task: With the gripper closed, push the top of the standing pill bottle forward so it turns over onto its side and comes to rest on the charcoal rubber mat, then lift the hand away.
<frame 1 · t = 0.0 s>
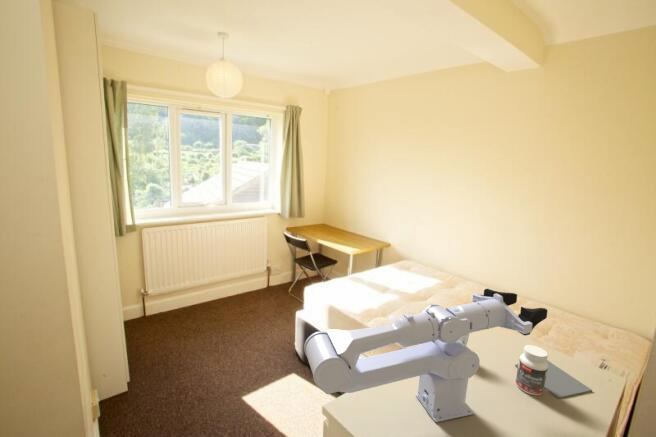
hand: (529, 305, 71), 22 cm above the table, tool horizontal, fingers open, 7 cm apart
mat: (551, 377, 80), on the table
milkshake: (458, 358, 87), on the table
pill bottle: (528, 388, 76), on the table
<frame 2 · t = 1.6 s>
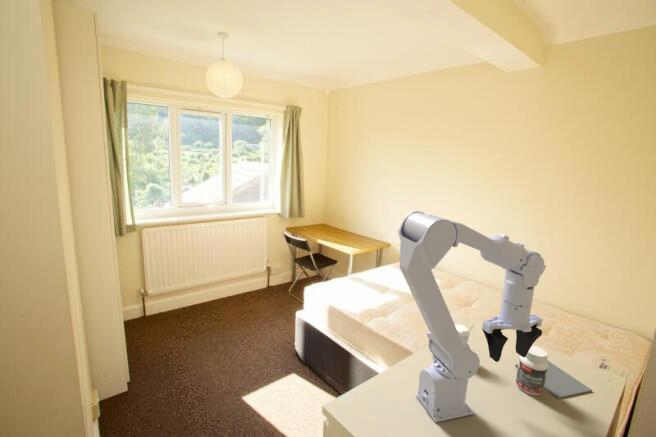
hand: (507, 356, 72), 9 cm above the table, tool pointing down, fingers open, 7 cm apart
nothing on the table moved.
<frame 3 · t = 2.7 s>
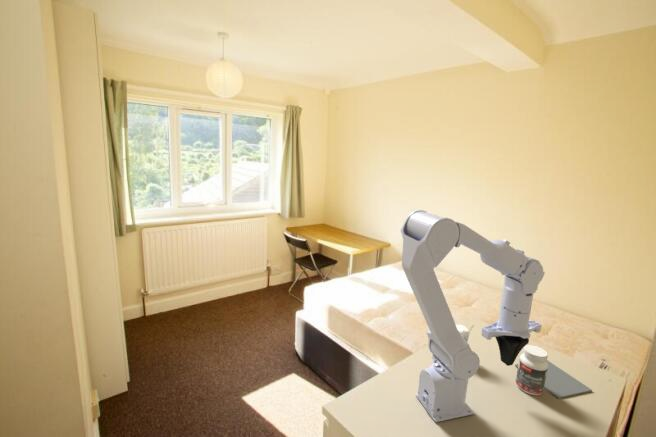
hand: (506, 362, 72), 8 cm above the table, tool pointing down, fingers closed
nothing on the table moved.
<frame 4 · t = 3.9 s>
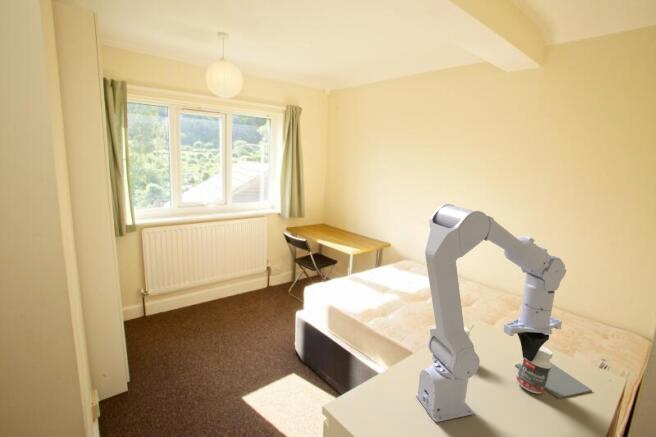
hand: (527, 358, 74), 8 cm above the table, tool pointing down, fingers closed
pill bottle: (529, 387, 76), on the table, touching gripper
everything else where it was.
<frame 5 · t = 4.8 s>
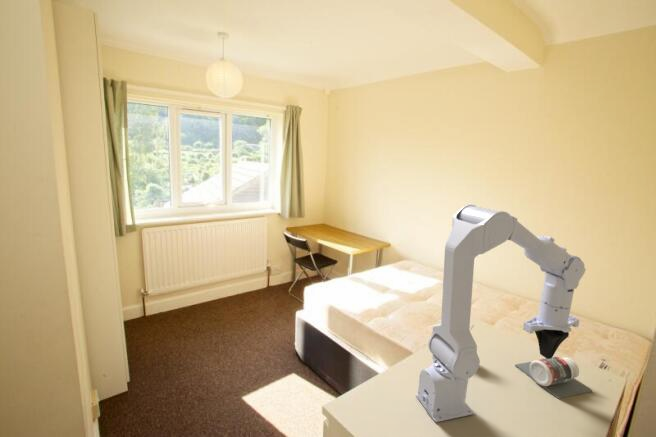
hand: (545, 356, 75), 8 cm above the table, tool pointing down, fingers closed
pill bottle: (538, 373, 76), point 3 cm above the table, touching mat
everything else where it was.
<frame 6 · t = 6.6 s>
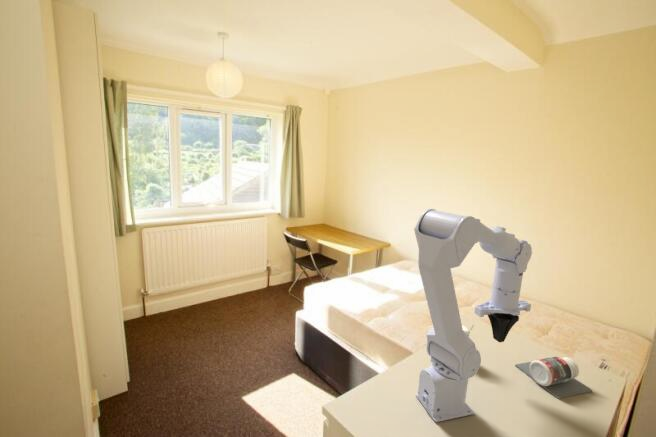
hand: (498, 339, 77), 10 cm above the table, tool pointing down, fingers closed
nothing on the table moved.
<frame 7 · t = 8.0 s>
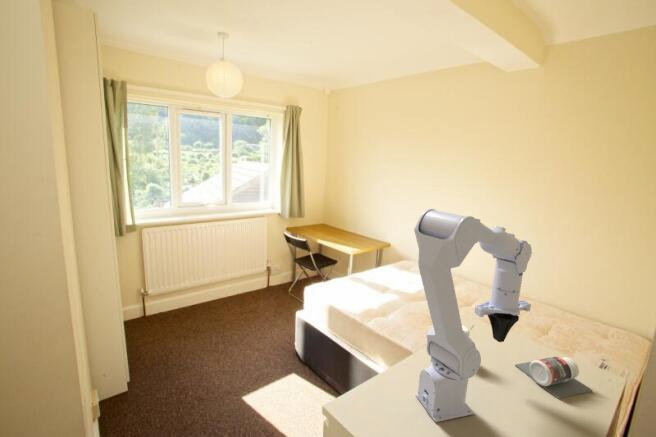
hand: (498, 339, 77), 10 cm above the table, tool pointing down, fingers closed
nothing on the table moved.
at the end: pill bottle tilted 90°; pill bottle inside the target area (3.1 cm from its centre), point 3.3 cm above the table; pill bottle touching mat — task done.
